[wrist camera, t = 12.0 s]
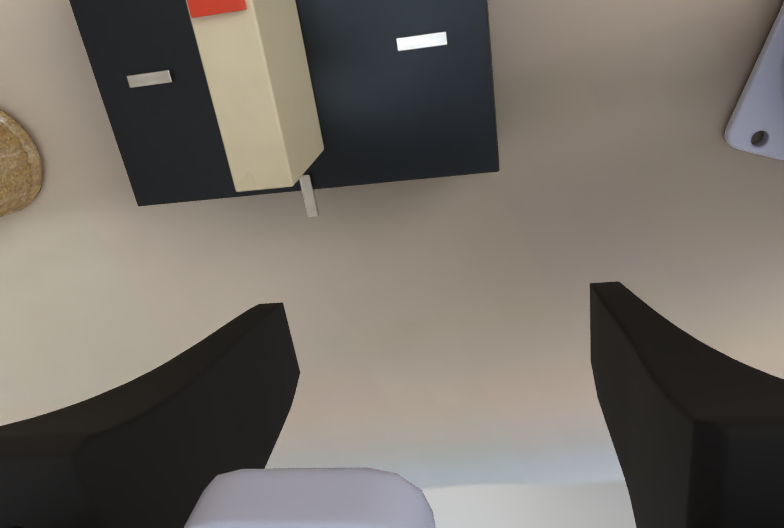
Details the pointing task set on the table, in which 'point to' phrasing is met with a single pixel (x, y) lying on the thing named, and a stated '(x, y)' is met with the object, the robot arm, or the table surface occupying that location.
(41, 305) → the table surface
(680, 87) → the table surface
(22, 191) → the sprinkles bottle
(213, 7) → the bar knob
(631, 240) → the table surface
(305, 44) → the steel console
